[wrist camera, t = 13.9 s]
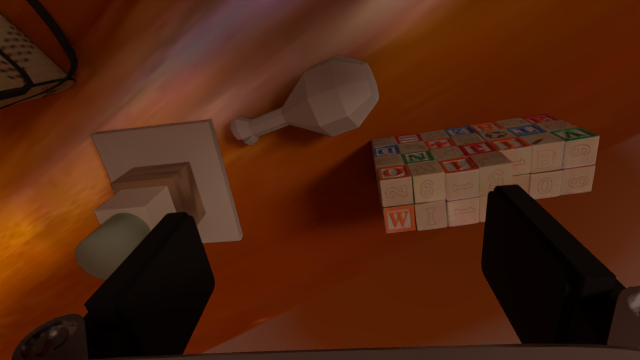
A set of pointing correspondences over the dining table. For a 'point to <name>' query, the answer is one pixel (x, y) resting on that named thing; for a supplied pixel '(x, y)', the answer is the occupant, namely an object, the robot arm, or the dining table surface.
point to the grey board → (176, 147)
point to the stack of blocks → (478, 169)
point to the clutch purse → (30, 63)
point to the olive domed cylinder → (110, 244)
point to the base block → (174, 178)
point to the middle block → (138, 205)
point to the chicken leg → (319, 101)
